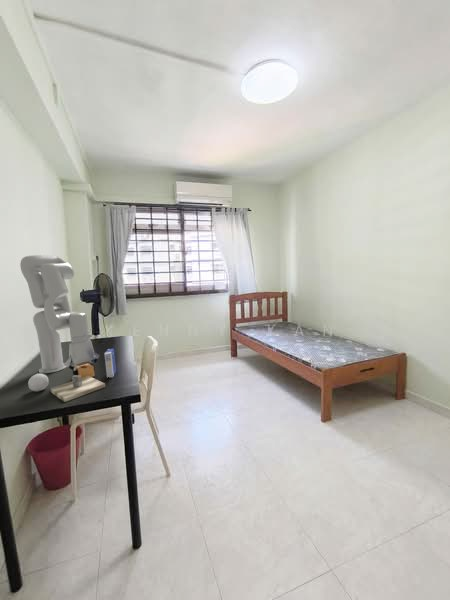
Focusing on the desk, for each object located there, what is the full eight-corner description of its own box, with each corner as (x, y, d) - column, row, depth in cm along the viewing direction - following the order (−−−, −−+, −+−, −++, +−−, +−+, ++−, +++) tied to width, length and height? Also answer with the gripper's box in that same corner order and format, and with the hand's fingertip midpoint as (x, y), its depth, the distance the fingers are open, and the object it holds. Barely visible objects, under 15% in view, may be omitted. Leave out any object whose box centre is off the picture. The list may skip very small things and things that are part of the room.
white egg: (32, 388, 118) (29, 372, 117) (51, 385, 120) (49, 369, 120) (24, 398, 109) (21, 381, 108) (45, 394, 111) (43, 377, 110)
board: (50, 391, 114) (48, 378, 113) (89, 378, 126) (87, 366, 125) (64, 402, 103) (62, 387, 103) (105, 386, 115) (103, 373, 115)
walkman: (110, 372, 133) (107, 348, 132) (116, 371, 134) (113, 347, 133) (106, 378, 126) (103, 353, 124) (112, 377, 126) (110, 352, 125)
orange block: (74, 377, 128) (73, 367, 128) (88, 373, 133) (87, 363, 133) (80, 380, 124) (79, 369, 124) (94, 375, 129) (93, 365, 129)
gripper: (95, 334, 136) (99, 368, 138) (56, 342, 123) (61, 379, 125) (102, 335, 131) (105, 371, 133) (63, 344, 118) (67, 383, 120)
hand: (84, 374), depth 129 cm, fingers closed on orange block, 6 cm apart
